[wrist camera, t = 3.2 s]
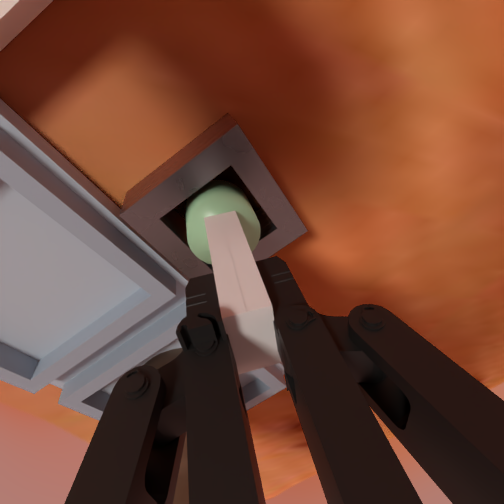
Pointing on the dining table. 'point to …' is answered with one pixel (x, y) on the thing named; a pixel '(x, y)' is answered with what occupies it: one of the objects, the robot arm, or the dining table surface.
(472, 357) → the dining table surface
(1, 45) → the square frame
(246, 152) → the button box
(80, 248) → the grey divided tray
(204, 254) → the button
